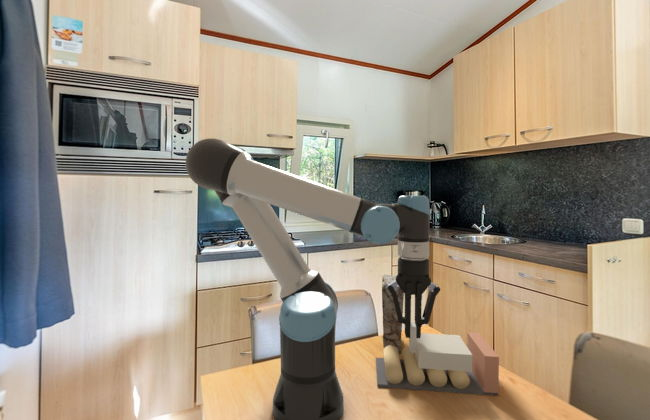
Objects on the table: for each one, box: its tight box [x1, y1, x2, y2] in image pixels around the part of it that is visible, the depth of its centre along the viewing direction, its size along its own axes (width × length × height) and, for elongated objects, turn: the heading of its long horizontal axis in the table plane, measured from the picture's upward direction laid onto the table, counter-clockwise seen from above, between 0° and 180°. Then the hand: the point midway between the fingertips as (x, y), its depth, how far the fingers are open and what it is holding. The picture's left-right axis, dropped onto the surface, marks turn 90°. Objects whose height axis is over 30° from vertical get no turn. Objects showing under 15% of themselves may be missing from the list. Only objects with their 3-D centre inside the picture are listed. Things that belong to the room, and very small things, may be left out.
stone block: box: [381, 274, 405, 355], centre depth 93 cm, size 13×7×20 cm, turn 176°
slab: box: [414, 332, 472, 372], centre depth 76 cm, size 12×10×4 cm
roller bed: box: [375, 345, 499, 396], centre depth 77 cm, size 27×12×5 cm, turn 82°
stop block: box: [466, 332, 500, 396], centre depth 75 cm, size 3×12×9 cm, turn 172°
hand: (412, 349), depth 77 cm, fingers closed
